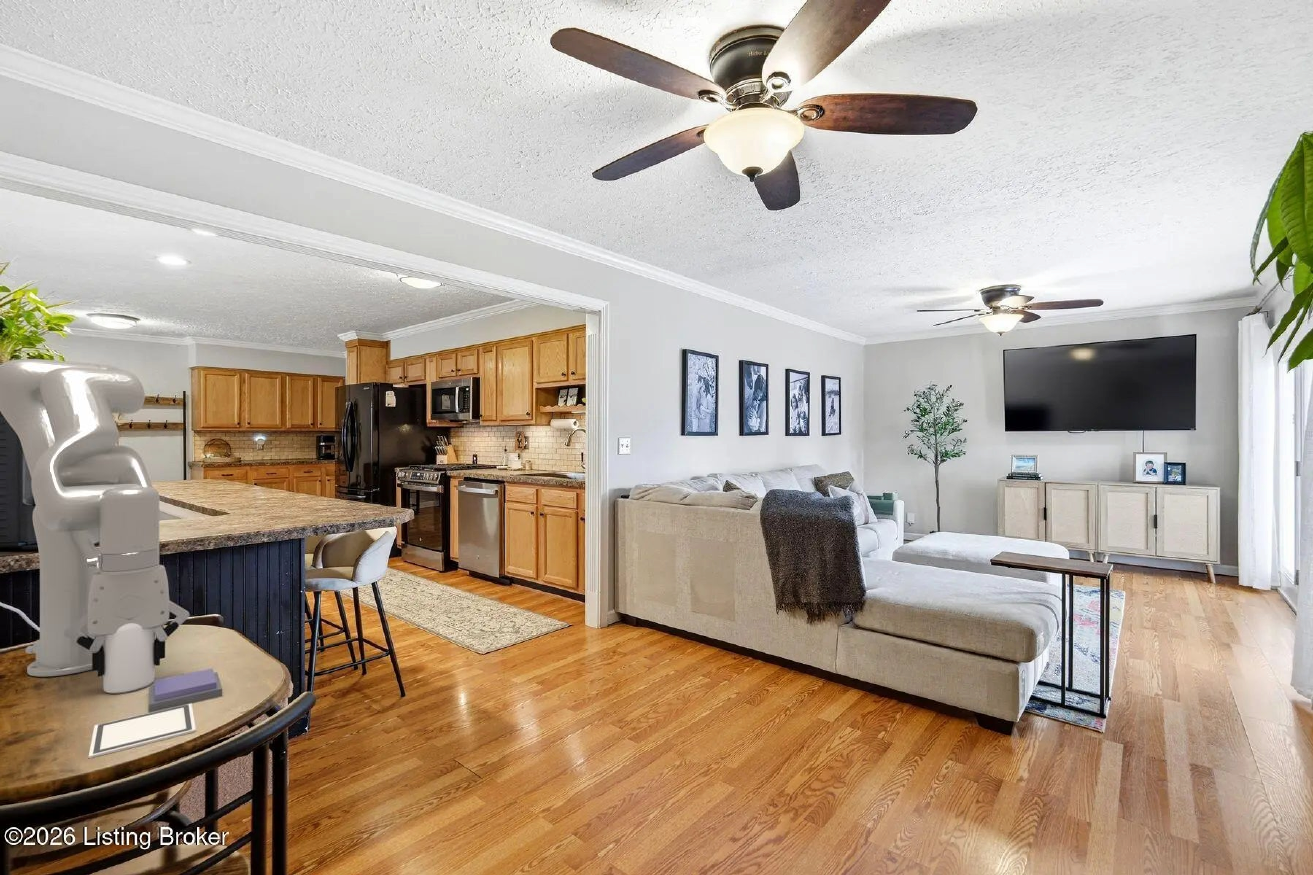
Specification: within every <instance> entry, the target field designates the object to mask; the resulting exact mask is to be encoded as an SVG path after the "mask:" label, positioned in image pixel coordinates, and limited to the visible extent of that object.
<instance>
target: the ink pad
mask: <svg viewBox="0 0 1313 875" xmlns="http://www.w3.org/2000/svg"><path fill="white" fill-rule="evenodd" d="M220 679H221V678H220V676H219V673H218V671H216V672H214V669H213V668H208V669H203V670H197V671H193V672H188V673H184V674H179V675H174V676H168V677H162V678H158V679H154V684H151V685H149V686H148V713H151V712H156V711H160V710H164V709H169V708H173V707H178V706H182V705H187V704H191V703H192V704H193V703H198V702H203V701H206V700H210V699H216V698H220V697H223V687H222V684H221V680H220ZM197 701H198V702H197Z"/></svg>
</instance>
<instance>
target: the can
mask: <svg viewBox="0 0 1313 875" xmlns="http://www.w3.org/2000/svg"><path fill="white" fill-rule="evenodd" d="M131 619H132V618H130V619H127V620H131ZM155 639H156V635H155V633H154V632H153V628H152V629H142V627H141V626H140V625H138V624H135V623H129V624H125V625H123V626H121V627H120V628H119V629H118V630H117V632H116V633H114V634H112V635H107V636H105V640H104V642H103V651H104V675H102V677H103V680H102V681H103V682H102V683H103V684H102V685H103V691H104V692H105V693H107V694H108V695H120V694H127V693H132V692H136V691H139V690H142V689H145V688H147V687H149V686H151V685H153V682H155V680H156V679H155V676H156V671H155V670H156V665H154V642H155Z"/></svg>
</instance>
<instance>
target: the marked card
mask: <svg viewBox="0 0 1313 875" xmlns="http://www.w3.org/2000/svg"><path fill="white" fill-rule="evenodd" d="M92 731H93V732H92V735H91V736H92V737H91V741H90V748H89V752H88V759H93V758H97V757H101V756H104V755H108V754H111V753H112V754H113V753H116V752H120V751H125V750H129V749H132V748H136V747H141V746H144V745H149V744H152V743H157V742H160V741H164V740H168V739H172V738H176V737H181V736H185V735H188V734H191V733H196V732H197V731H196V723H195V717H194V711H193V703H189V704H185V705H180V706H176V707H172V708H167V709H163V710H158V711H154V712H147V713H143V714H139V715H133V716H129V717H125V718H120V719H117V720H112V721H108V722H103V723H98V724H94V727H93V730H92Z"/></svg>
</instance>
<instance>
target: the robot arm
mask: <svg viewBox="0 0 1313 875" xmlns="http://www.w3.org/2000/svg"><path fill="white" fill-rule="evenodd" d="M145 395H146V393H145V389H144V386H143V384H142V381H141V380H140V378H138V376H136V375H135V374H134V373H133V372H131V371H128V370H125V369H121V368H119V367H115V366H111V365H108V364H99V363H87V362H86V363H85V362H76V361H74V362H73V361H64V360H55V359H54V360H52V359H42V358H41V359H39V358H38V359H37V358H21V359H12V360H7V361H5V362H3V363H1V364H0V412H1V415H2V416H3V417H4V419H5V420H6V421H7V423H8V424H9V426H10V427H11V428H12V429H13V430H14V432H15V433H16V435H17V436H18V439H19V441H20V444H21V448H22V451H23V454H24V457H25V461H26V466H27V468H28V471H29V474H30V478H31V481H30V482H31V493H32V496H33V499H34V501H33V502H34V504H35V506H34V508H33V510H32V524H33V529H34V534H35V538H36V543H37V548H38V549H37V550H38V556H39V557H38V558H39V639H37V640H35V642H34V643H33V644H32V645H28V646H27V647H26V648H25V651H24V652H25V654H27V655H28V654H32V655H34V654H35V660H34V661H33V662H31V663H30V664H29V665H27V669H26V670H27V671H26V672H27V675H29V676H32V677H38V678H39V677H43V678H45V677H57V676H65V675H73V674H77V673H81V672H87V671H91V670H92V672H96V671H97V678H99V677H100V678H101V677H103V675H104V651H103V642H104V640H105V636H107V635H112V634H114V633H116V632H117V630H118V629H119V628H120V627H121V626H123V625H125V624H129V623H135V624H138V625H140V626H141V627H142V629H152V628H153V632H154V633H155V642H154V665H155V667H158V666H160V665H161V660H163V659H165V658H166V640H167V639H168V638H169V637H170V636H171V635H172V634H174V632H175V631H176V630H177V629H178V628H179V627H180V626H182V624H183V623H184V622H185V621H186V620H187V619H188V618H189V617H190V613H189V611H188V610H186V609H184V607H181V606H180V605H178V604H177V603H176V602H175V603H174V602H173V601H171V600H170V592H169V582H168V576H167V571H166V570H167V569H166V567H165V565H162V564H160V520H161V511H160V510H161V509H160V494H159V491H158V490H157V489H156V488H154V487H153V484H152V482H151V479H150V476H149V474H148V470H147V468H146V466H145V463H144V460H143V458H142V457H141V455H140V453H138V452H137V451H136V450H135V449H133V448H132V447H129V446H127V445H118V444H117V443H118V441H119V440H120V433H119V432H120V431H119V430H118V429H119V428H118V426H117V423H116V420H115V418H114V415H113V414H117V415H118V414H123V415H126V414H127V415H128V414H134V413H138V412H139V411H140V410H142V408H143V405H144V402H145V400H146V397H145ZM97 543H99V549H98V548H97V547H96V546H95V544H97ZM170 613H171V614H173V615H174V616H176V617H175V618H174V619H173V620H171V621H170V622H169V623H168V621H169V620H170ZM130 618H132V619H131V620H127V619H130ZM167 623H168V624H167ZM166 624H167V625H166ZM164 625H166V626H165V627H164Z"/></svg>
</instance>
